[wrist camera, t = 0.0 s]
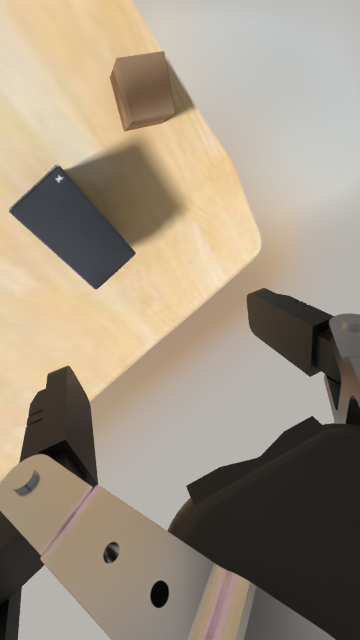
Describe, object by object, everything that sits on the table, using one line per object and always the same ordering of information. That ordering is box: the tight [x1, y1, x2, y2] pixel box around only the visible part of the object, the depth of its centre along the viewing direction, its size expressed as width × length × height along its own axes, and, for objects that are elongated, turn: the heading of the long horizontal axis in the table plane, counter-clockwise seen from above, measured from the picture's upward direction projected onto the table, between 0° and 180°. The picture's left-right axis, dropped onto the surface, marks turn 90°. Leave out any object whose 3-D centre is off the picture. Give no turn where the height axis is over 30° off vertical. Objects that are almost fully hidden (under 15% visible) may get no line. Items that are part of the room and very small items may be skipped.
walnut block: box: [110, 51, 175, 131], centre depth 29 cm, size 5×5×5 cm
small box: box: [9, 165, 136, 289], centre depth 29 cm, size 11×6×10 cm, turn 38°
